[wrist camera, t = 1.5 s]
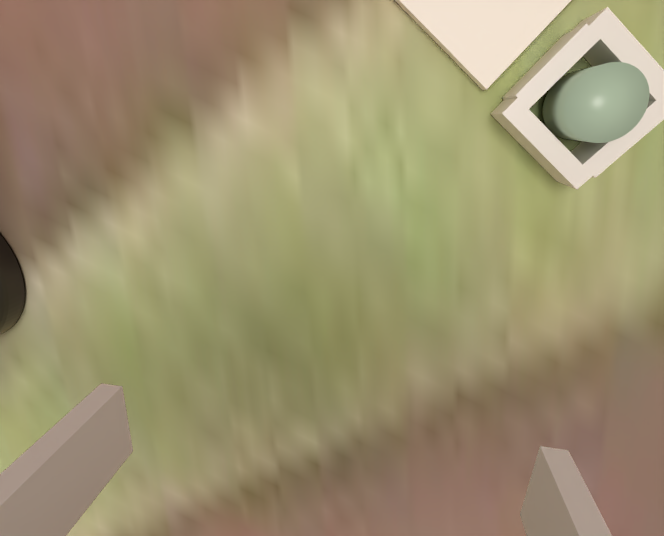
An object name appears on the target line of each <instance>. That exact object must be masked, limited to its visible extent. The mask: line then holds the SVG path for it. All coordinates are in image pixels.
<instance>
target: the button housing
mask: <svg viewBox="0 0 664 536" xmlns="http://www.w3.org/2000/svg"><path fill="white" fill-rule="evenodd" d="M582 56H583V57H584V58H585V59H586V60H587V61H588V62H589V63H590V65H591V66H592V67H594V66H598V65H601V64H605V63H610V62H624V63H628V64H631V65H633V66H635V67H636V68H638V69H639V70H640V71H641V72H642V73H643V74H644V76H645V78H646V79H647V82H648V85H649V95H650V96H649V102H648V106H647V109H646V112H645V113H644V115H643V117H642V119H641V120H640V122H639V123H638V124H637V125H636V126H635V127H634V128H633V129H632V130H631V131H630V132H628V133H627V134H626V135H624V136H622V137H620V138H618V139H616V140H613V141H610V142H605V143H592V142H585V141H582V142H581V143H580V144H578V145H577V146H576V147H575V148H574V149H573V150H572V151H571V152H570V151H569V150H568V149H567V148H566V147H565V146H564V145H563V144H562V143H561V142H560V141H559V140H558V139H557V138H556V137H555V136H554V135H553V134H552V133H551V132H550V131H549V129H548V128H547V127H546V126H545V125H544V124H543V123H542V122H541V121H540V120H539V119H538V118H537V117H536V116H535V115H534V114H533V113H532V112H531V111H530V110H529V108H530V107H531V106H532V105H533V104H535V103H536V102H537V101H538V100H539V99H540V98H541V97H542V96H543V95H544V94H545V93H546V92H547V91H548V90H549V89H550V88H551V87H552V86H553V85H554V84H555V83H556V82H557V81H558V80H559V79H560V78H561V77H562V76H563V75H564V74H565V73H566V72H567V71H568V70H569V69H570V68H571V67H572V66H573V65H574V64H575V63H576V62H577V61H578V60H579V59H580V58H581V57H582ZM502 99H503V101H502V102H501V103H500V104H499V105H498V106H497V107H496V108H495V109H494V110H493V111H492V112H491V113H490V114H491V115H492V116H493V117H494V118H495V119H496V120H497V121H498V122H499V123H500V124H501V125H502V126H503V127H504V128H505V129H506V130H507V131H508V132H509V133H510V134H511V135H512V136H513V137H514V139H515V140H516V141H517V142H518V143H519V144H520V145H521V146H522V147H523V148H524V149H525V150H526V151H527V152H528V153H529V154H530V155H531V156H532V157H533V158H534V159H535V160H536V161H537V162H538V163H539V164H540V165H541V166H542V167H543V168H544V169H545V170H546V171H547V172H548V173H549V174H550V175H551V176H552V177H553V178H554V179H555V180H556V181H557V182H559V183H562V184H564V185H567V186H569V187H572V188H574V189H578V188H579V187H580V186H582V185H583V184H584V183H585V182H586V181H587V180H589V179H590V178H591V177H597V176H598V175H599V174H600V173H601V172H603V171H604V170H605V169H606V168H607V167H608V166H610V165H611V164H612V163H613V162H614V161H615V160H617V159H618V158H619V157H620V156H621V155H622V154H624V153H625V152H626V151H627V150H628V149H630V148H631V147H632V146H633V145H634V144H635V143H637V142H638V141H639V140H640V139H641V138H642V137H644V136H645V135H646V134H647V133H648V132H650V131H651V130H652V129H653V128H654V127H655V126H657V125H658V124H659V123H660V122H661V121H662V120H664V70H663V69H662V67H661V66H660V65H659V64H658V63H657V62H656V61H655V60H654V58H653V57H652V56H651V55H650V54H649V53H648V52H647V51H646V50H645V48H644V47H643V46H642V45H641V44H640V43H639V42H638V41H637V39H636V38H635V37H634V36H633V35H632V34H631V33H630V32H629V30H628V29H627V28H626V27H625V26H624V25H623V24H622V23H621V22H620V20H619V19H618V18H617V17H616V16H615V15H614V14H613V13H612V11H611V10H610V9H609V8H608V7H607V8H605V9H603V10H601V11H599V12H597V13H595V14H593V15H591V16H590V17H588V18H586V19H584V20H582V21H581V22H580V23H579V24H578V25H577V26H576V27H575V28H574V29H573V30H572V31H570V32H568V33H566V34H564V35H563V36H562V37H561V38H560V39H559V40H558V41H557V42H556V43H555V44H554V45H553V46H552V47H551V48H550V49H549V50H548V51H547V52H546V53H545V54H544V55H543V56H542V57H541V58H540V59H539V60H538V61H537V62H536V63H535V64H534V65H533V66H532V67H531V68H530V69H529V70H528V72H527V73H526V74H525V75H524V76H523V77H522V78H521V79H520V80H519V81H518V82H517V83H516V84H515V85H514V86H513V87H512V88H511V89H510V90H509V91H508V92H507V93H506V94H505V95H504V96H503V97H502Z"/></svg>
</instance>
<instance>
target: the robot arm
mask: <svg viewBox="0 0 664 536" xmlns="http://www.w3.org/2000/svg"><path fill="white" fill-rule="evenodd" d="M24 299H25V290H24V282H23V277H22V274H21V270H20V268H19V265H18V263H17V260H16V258H15V256H14V254H13V253H12V251H11V249H10V247H9V246H8V244H7V243H6V242H5V240H4V239H3V238H2V236H1V235H0V334H2V333H4V332H5V331H7V330H8V329H10V328H11V327H12V326H13V325H14V324H15V323H16V322H17V320H18V319H19V317H20V315H21V313H22V310H23V306H24ZM132 452H133V448H132V442H131V436H130V430H129V424H128V418H127V412H126V406H125V399H124V393H123V387H122V386H116V385H109V384H102V383H101V384H100V385H99V386H98V387H96V388H95V389H94V390H93V391H92V392H91V393H90V394H89V395H87V396H86V397H85V398H84V399H83V400H82V401H81V402H80V403H79V404H77V405H76V406H75V407H74V408H73V409H72V410H71V411H70V412H69V413H67V414H66V415H65V416H64V417H63V418H62V419H61V420H60V421H59V422H57V423H56V424H55V425H54V426H53V427H52V428H51V429H50V430H49V431H47V432H46V433H45V434H44V435H43V436H42V437H41V438H40V439H39V440H37V441H36V442H35V443H34V444H33V445H32V446H31V447H30V448H29V449H27V450H26V451H25V452H24V453H23V454H22V455H21V456H20V457H19V458H17V459H16V460H15V461H14V462H13V463H12V464H11V465H10V466H9V467H7V468H6V469H5V470H4V471H3V472H2V473H1V474H0V536H66V535H67V534H68V532H69V531H70V530H71V529H72V527H73V526H74V525H75V524H76V522H77V521H78V520H79V519H80V517H81V516H82V515H83V513H84V512H85V511H86V510H87V508H88V507H89V506H90V505H91V503H92V502H93V501H94V500H95V498H96V497H97V496H98V495H99V493H100V492H101V491H102V489H103V488H104V487H105V486H106V484H107V483H108V482H109V481H110V479H111V478H112V477H113V476H114V474H115V473H116V472H117V471H118V469H119V468H120V467H121V465H122V464H123V463H124V462H125V460H126V459H127V458H128V457H129V455H130V454H131V453H132ZM520 516H521V519H522V522H523V526H524V529H525V532H526V535H527V536H612V535H611V533H610V531H609V529H608V527H607V525H606V523H605V521H604V519H603V517H602V515H601V513H600V511H599V509H598V507H597V505H596V504H595V502H594V500H593V498H592V496H591V494H590V492H589V490H588V488H587V486H586V484H585V482H584V480H583V478H582V476H581V474H580V472H579V470H578V469H577V467H576V465H575V463H574V461H573V459H572V457H571V455H570V453H569V451H568V450H563V449H556V448H549V447H542V446H540V448H539V452H538V455H537V459H536V462H535V465H534V469H533V472H532V475H531V479H530V482H529V486H528V489H527V492H526V496H525V499H524V502H523V506H522V509H521V513H520Z"/></svg>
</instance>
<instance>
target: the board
mask: <svg viewBox="0 0 664 536" xmlns="http://www.w3.org/2000/svg"><path fill="white" fill-rule="evenodd" d="M395 1H396V2H397V3H398V4H399V5H400V6H401V7H402V8H403V9H404V10H405V11H406V12H407V13H408V15H409V16H410V17H411V18H412V19H413V20H414V21H415V22H416V23H417V24H418V25H419V26H420V27H421V28H422V29H423V30H424V31H425V32H426V33H427V34H428V35H429V36H430V37H431V38H432V39H433V40H434V41H435V42H436V43H437V44H438V45H439V46H440V47H441V48H442V49H443V50H444V51H445V52H446V53H447V54H448V55H449V56H450V57H451V58H452V59H453V60H454V61H455V62H456V63H457V64H458V65H459V67H460V68H461V69H462V70H463V71H464V72H465V73H466V74H467V75H468V76H469V77H470V78H471V79H472V80H473V81H474V82H475V83H476V84H477V85H478V86H479V87H480V88H481V89H482V90H486V89H488V87H489V86H490V85H491V84H492V83H493V82H494V81H495V80H496V79H497V78H498V77H499V76H500V75H501V74H502V73H503V72H504V71H505V70H506V69H507V67H508V66H509V65H510V64H511V63H512V62H513V61H514V60H515V59H516V58H517V57H518V56H519V55H520V54H521V53H522V52H523V51H524V50H525V49H526V47H527V46H528V45H529V44H530V43H531V42H532V41H533V40H534V39H535V38H536V37H537V36H538V35H539V34H540V33H541V32H542V31H543V30H544V29H545V28H546V26H547V25H548V24H549V23H550V22H551V21H552V20H553V19H554V18H555V17H556V16H557V15H558V14H559V13H560V12H561V11H562V10H563V9H564V8H565V6H566V5H567V4H568V3H569V2H570V1H571V0H395Z"/></svg>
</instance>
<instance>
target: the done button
mask: <svg viewBox="0 0 664 536" xmlns="http://www.w3.org/2000/svg"><path fill="white" fill-rule="evenodd" d="M649 96H650V95H649V85H648V82H647V79H646V78H645V76H644V74H643V73H642V72H641V71H640V70H639V69H638V68H636V67H635V66H633V65H631V64H628V63H624V62H610V63H605V64H601V65H598V66H594V67H590V68H586V69H582V70H578V71H574V72H571V73H569V74H567V75H565V76H563V77H562V78H561V79H559V80H558V81H557V82H556V83H555V84H554V85H553V86H552V87H551V89H550V90H549V92H548V93H547V95H546V98H545V101H544V104H543V119H544V122H545V124H546V126H547V128H548V129H549V130H550V131H551V132H552V133H553V134H554V135H556V136H558V137H560V138H563V139H569V140H577V141H585V142H592V143H605V142H610V141H613V140H616V139H618V138H620V137H622V136H624V135H626V134H627V133H628V132H630V131H631V130H632V129H633V128H634V127H635V126H636V125H637V124H638V123H639V122H640V120H641V119H642V117H643V115H644V113H645V112H646V109H647V106H648V102H649Z"/></svg>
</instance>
